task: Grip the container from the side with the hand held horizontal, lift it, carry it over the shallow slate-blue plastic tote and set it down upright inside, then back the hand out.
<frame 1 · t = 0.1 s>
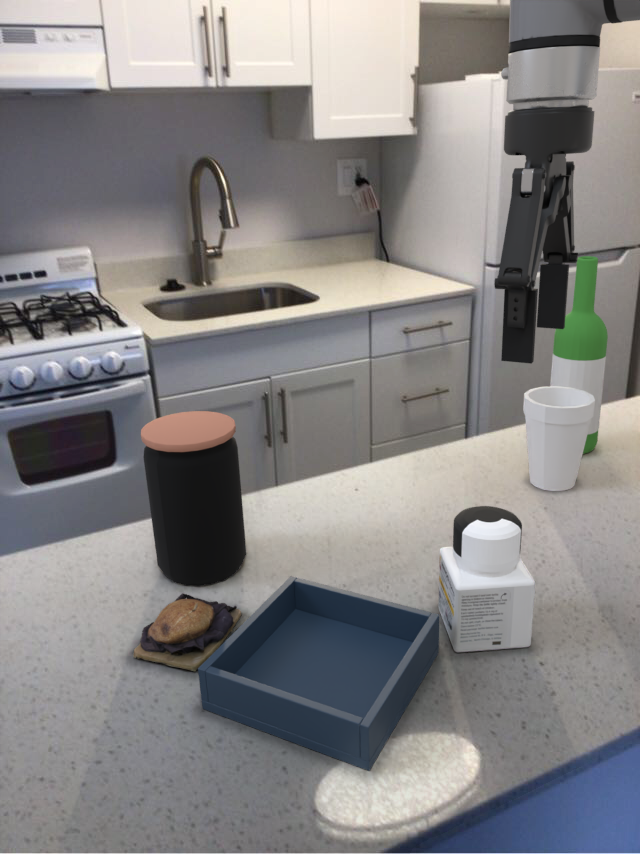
hand: (535, 343, 73), 28 cm above the worktop, tool pointing down, fingers open, 13 cm apart
foam cup: (551, 482, 110), on the worktop
coffee jar: (203, 566, 92), on the worktop
bread roll: (189, 637, 79), on the worktop
wine bottle: (570, 448, 121), on the worktop
tote: (325, 679, 72), on the worktop
container: (482, 629, 78), on the worktop
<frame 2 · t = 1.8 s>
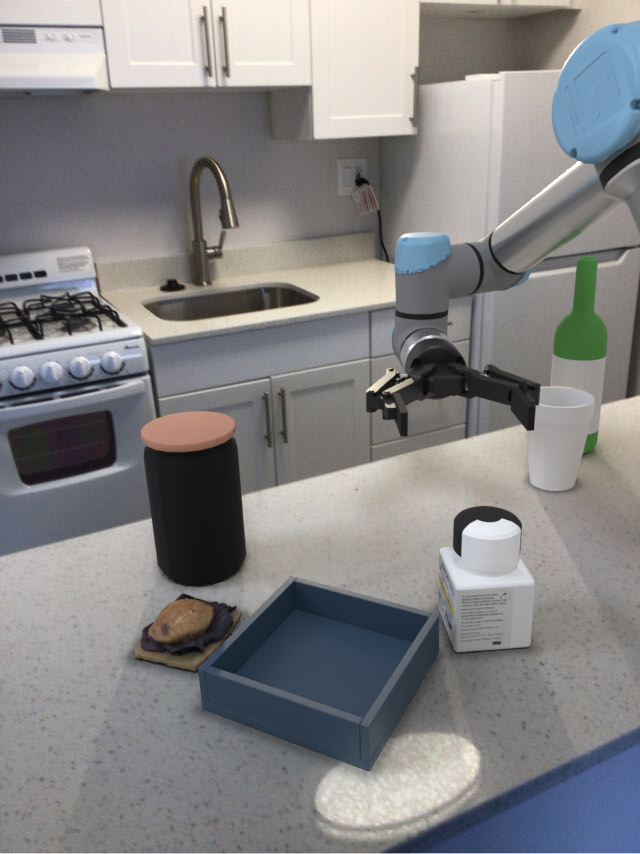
hand: (468, 421, 80), 19 cm above the worktop, tool horizontal, fingers open, 13 cm apart
nothing on the worktop moved.
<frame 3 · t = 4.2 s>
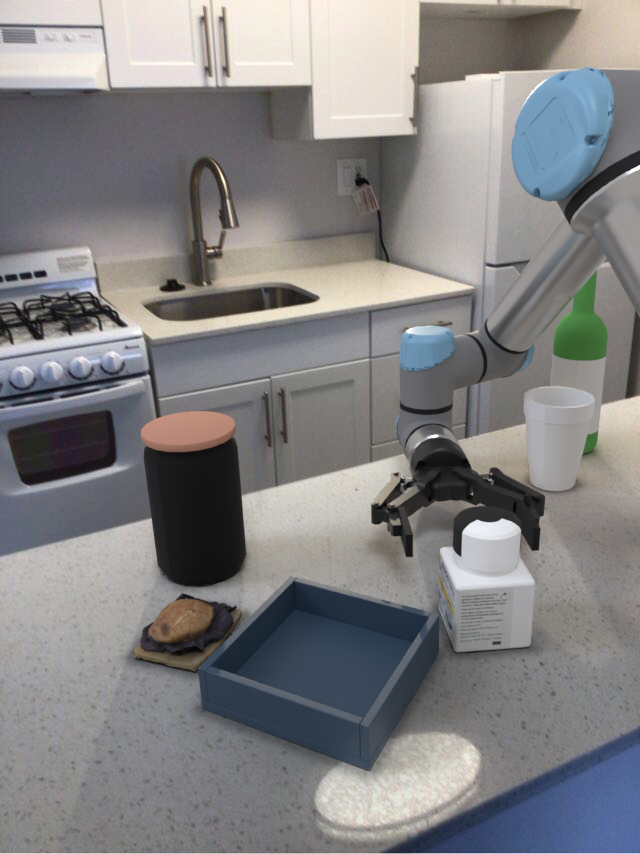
hand: (473, 543, 81), 7 cm above the worktop, tool horizontal, fingers open, 13 cm apart
nothing on the worktop moved.
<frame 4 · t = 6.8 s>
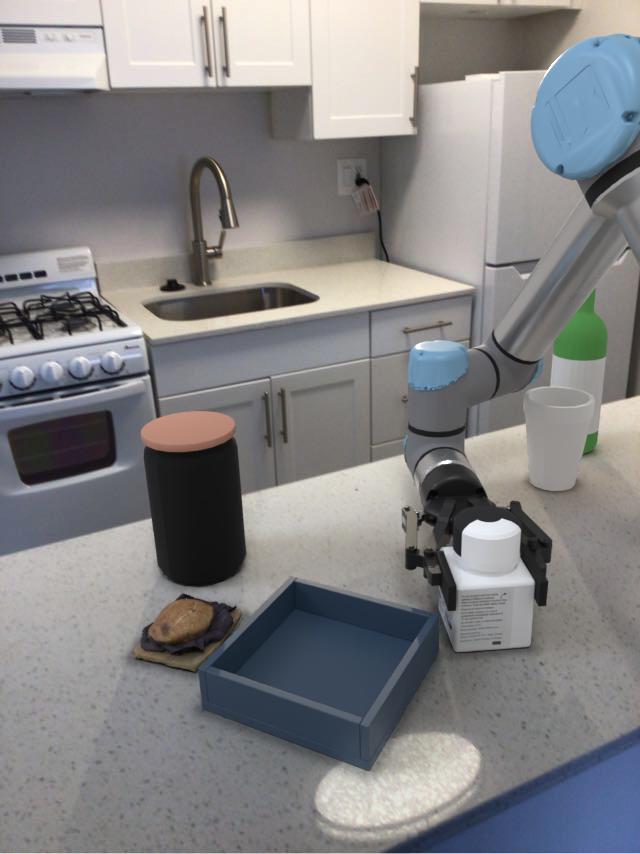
hand: (497, 596, 71), 7 cm above the worktop, tool horizontal, fingers closed on container, 8 cm apart
container: (482, 629, 78), on the worktop, touching gripper
everything else where it was.
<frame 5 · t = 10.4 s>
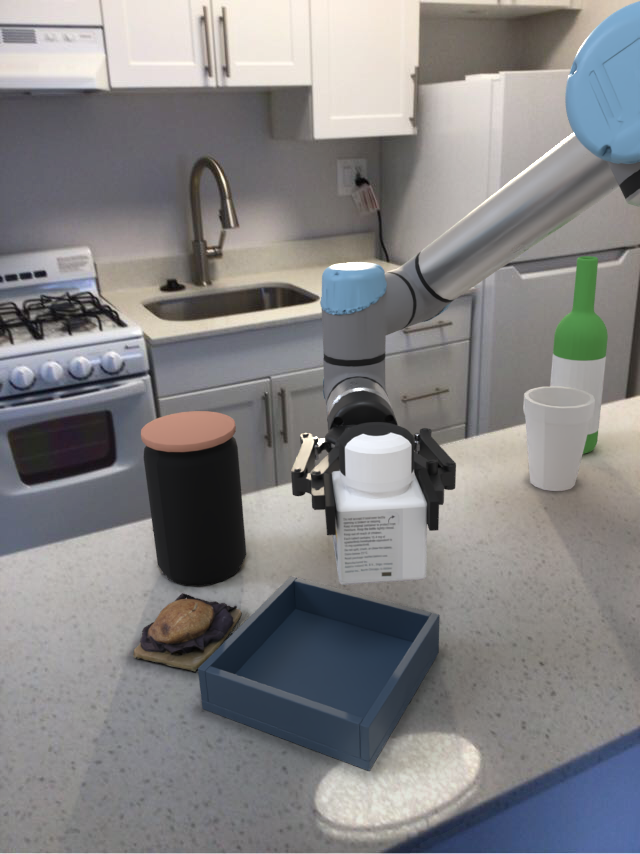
hand: (382, 518, 63), 18 cm above the worktop, tool horizontal, fingers closed on container, 8 cm apart
container: (377, 562, 70), point 11 cm above the worktop, touching gripper
everything else where it was.
when the fingers open (8 cm above the worktop, at t = 14.4 s): container stays where it is, resting on tote.
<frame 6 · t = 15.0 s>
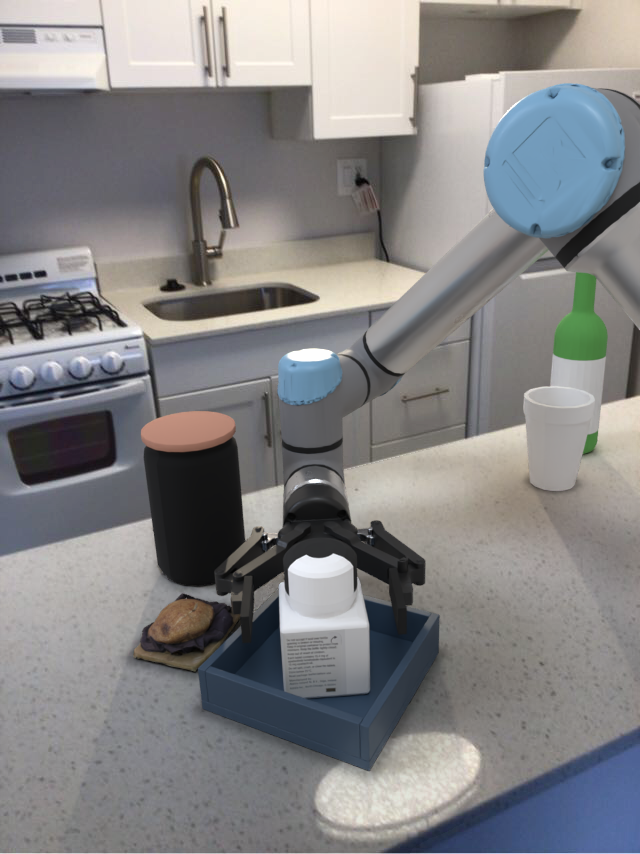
hand: (324, 626, 65), 8 cm above the worktop, tool horizontal, fingers open, 13 cm apart
container: (324, 672, 71), point 1 cm above the worktop, touching tote
everything else where it was.
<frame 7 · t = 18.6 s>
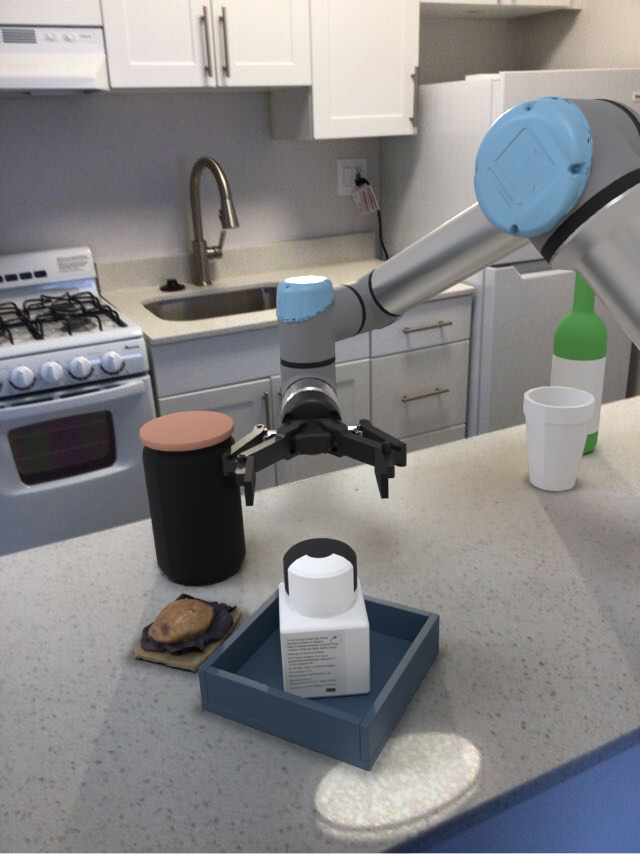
hand: (316, 490, 75), 15 cm above the worktop, tool horizontal, fingers open, 13 cm apart
nothing on the worktop moved.
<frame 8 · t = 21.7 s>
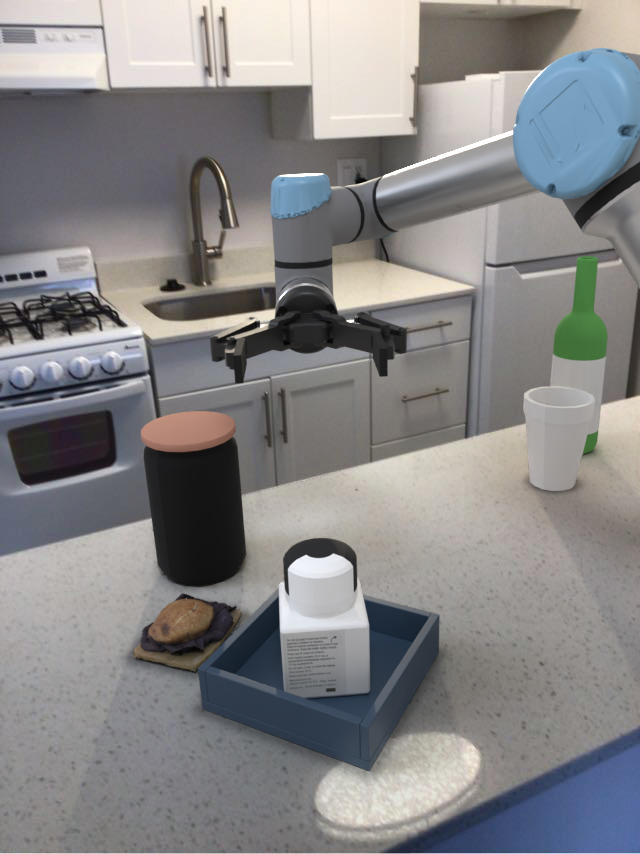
hand: (311, 366, 71), 28 cm above the worktop, tool horizontal, fingers open, 13 cm apart
nothing on the worktop moved.
at the end: container inside the target area in the tote (0.1 cm from its centre), point 0.8 cm above the tote's base; container tilted 0°; the gripper is holding nothing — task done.
